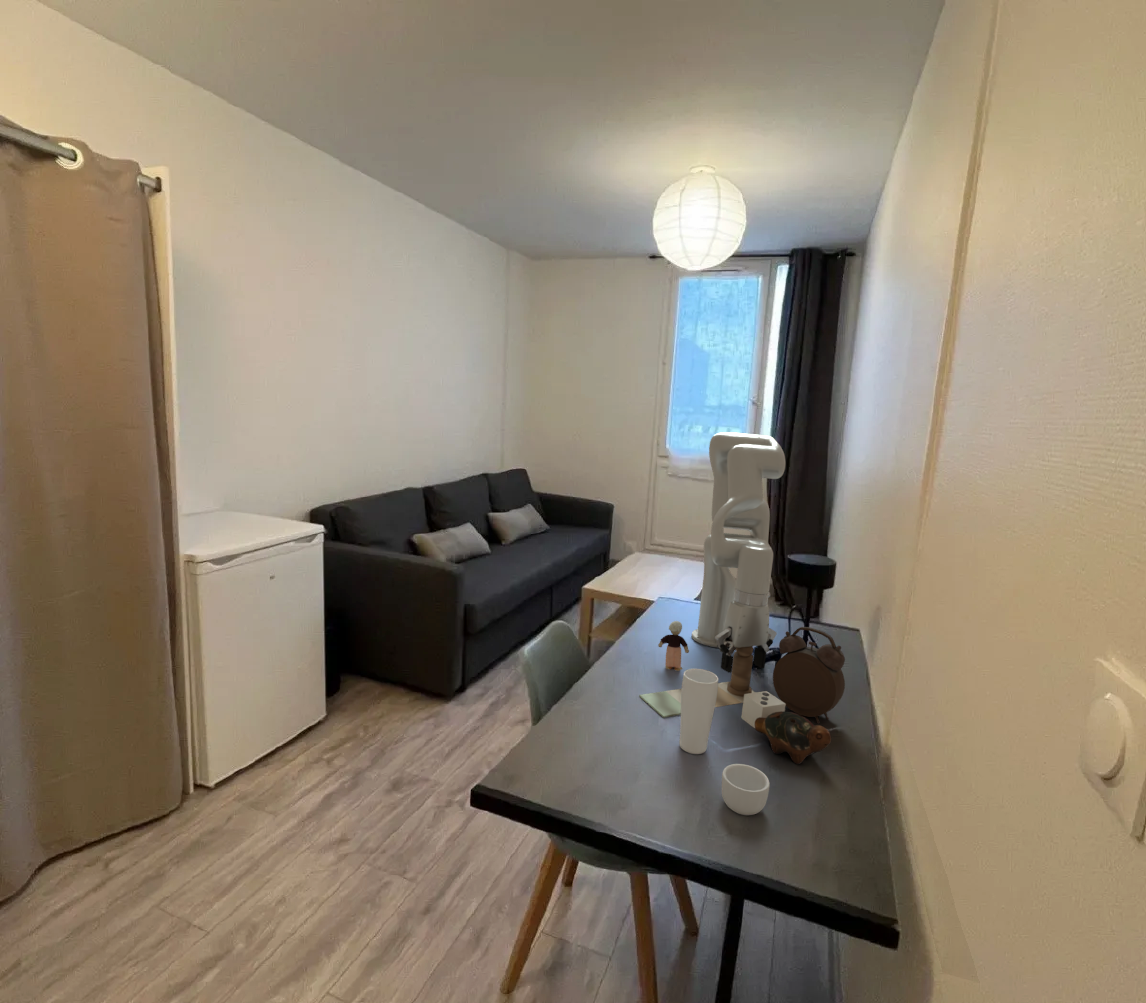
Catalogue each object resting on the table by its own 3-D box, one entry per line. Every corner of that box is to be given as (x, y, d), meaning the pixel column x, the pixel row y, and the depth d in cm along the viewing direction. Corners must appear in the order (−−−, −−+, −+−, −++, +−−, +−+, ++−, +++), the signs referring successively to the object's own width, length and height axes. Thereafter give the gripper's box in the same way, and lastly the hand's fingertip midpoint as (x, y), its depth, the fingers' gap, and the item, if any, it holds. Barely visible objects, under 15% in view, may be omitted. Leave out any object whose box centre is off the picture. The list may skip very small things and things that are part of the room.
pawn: (740, 684, 151) (746, 635, 149) (756, 694, 146) (762, 644, 144) (722, 687, 149) (728, 637, 147) (737, 698, 144) (743, 646, 142)
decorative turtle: (821, 779, 114) (823, 738, 113) (743, 750, 124) (745, 712, 123) (838, 756, 122) (840, 718, 120) (764, 731, 131) (765, 695, 130)
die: (763, 716, 137) (766, 690, 136) (782, 730, 131) (785, 703, 130) (741, 720, 134) (744, 693, 133) (759, 734, 129) (763, 706, 128)
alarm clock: (842, 722, 137) (855, 635, 134) (830, 733, 132) (843, 643, 129) (779, 697, 147) (790, 616, 144) (765, 707, 141) (776, 622, 138)
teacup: (766, 827, 100) (770, 796, 99) (717, 815, 102) (721, 785, 101) (764, 791, 109) (768, 762, 108) (720, 781, 111) (723, 753, 110)
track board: (736, 681, 153) (737, 680, 153) (764, 700, 145) (765, 698, 144) (639, 696, 142) (639, 694, 141) (663, 717, 133) (663, 716, 133)
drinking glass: (689, 760, 117) (698, 685, 115) (668, 742, 123) (676, 670, 121) (717, 753, 120) (726, 680, 118) (695, 736, 126) (703, 666, 124)
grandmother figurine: (685, 667, 160) (690, 620, 158) (687, 673, 156) (692, 625, 154) (655, 664, 160) (660, 617, 158) (656, 670, 157) (661, 622, 155)
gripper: (768, 591, 151) (760, 658, 153) (710, 595, 143) (702, 665, 146) (791, 600, 144) (782, 670, 146) (731, 604, 137) (723, 678, 139)
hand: (742, 668), depth 146 cm, fingers open, 9 cm apart
